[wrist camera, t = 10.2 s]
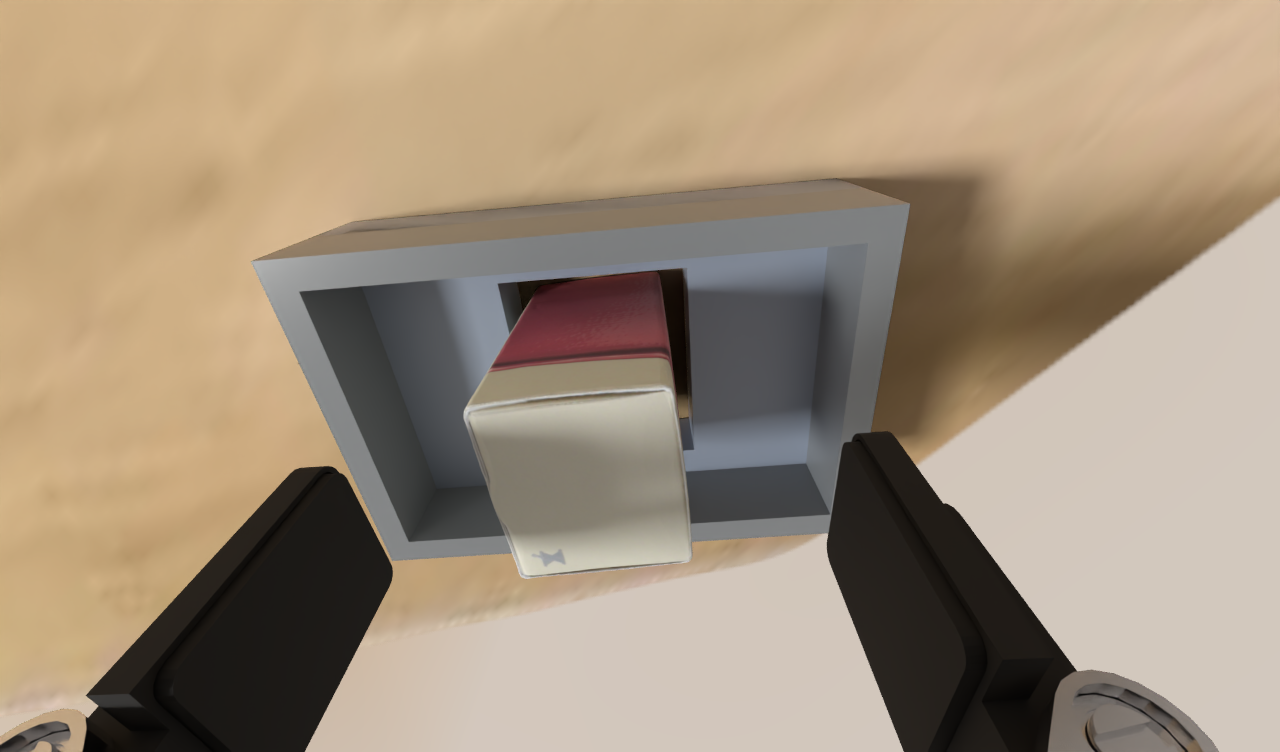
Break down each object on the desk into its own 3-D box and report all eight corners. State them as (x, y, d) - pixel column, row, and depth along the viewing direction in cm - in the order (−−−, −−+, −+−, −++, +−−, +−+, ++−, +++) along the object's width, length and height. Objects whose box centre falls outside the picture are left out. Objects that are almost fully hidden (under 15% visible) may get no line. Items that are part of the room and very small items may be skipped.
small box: (675, 396, 18) (698, 569, 11) (563, 409, 19) (519, 586, 12) (661, 265, 16) (679, 384, 9) (532, 282, 16) (453, 411, 9)
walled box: (836, 178, 15) (910, 203, 11) (809, 445, 19) (853, 531, 15) (351, 222, 15) (250, 261, 11) (441, 471, 20) (392, 560, 16)
